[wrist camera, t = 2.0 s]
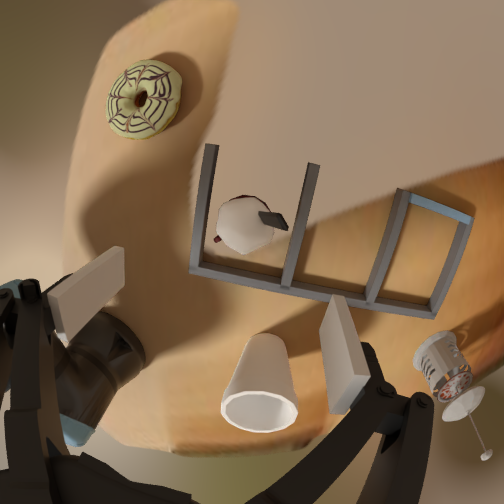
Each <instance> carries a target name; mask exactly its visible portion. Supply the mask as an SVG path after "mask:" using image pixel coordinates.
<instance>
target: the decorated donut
mask: <svg viewBox="0 0 504 504" xmlns="http://www.w3.org/2000/svg"><path fill="white" fill-rule="evenodd" d="M181 86H182V78H181V76H180V74H179V73H178V72H177V71H175V70H174V69H173V68H172V67H171V66H169V65H167V64H165V63H163V62H161V61H157V60H141V61H139V62H137V63H135V64H133V65H132V66H130V67H129V68H128V69H126V70H125V71H124V72H123V73H122V74H120V76H119V77H118V78H117V79H116V80H115V82H114V84H113V85H112V87H111V89H110V91H109V93H108V96H107V102H106V118H107V120H108V122H109V125H110V127H111V128H112V129H113V131H114V132H115V133H117V134H118V135H120V136H122V137H125V138H130V139H133V140H144V139H149V138H151V137H153V136H154V135H156V134H159V133H160V132H161V131H163V130H164V129H165V128H166V127H167V125H168V124H169V123H170V122H171V121H172V120H173V118H174V117H175V115H176V113H177V111H178V109H179V106H180V100H181ZM146 91H147V94H148V98H147V100H146V103H145V105H144V106H143V107H140V106H139V104H138V103H139V99H140V96H141V95H142V94H143V93H144V92H146Z"/></svg>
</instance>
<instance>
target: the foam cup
mask: <svg viewBox="0 0 504 504" xmlns="http://www.w3.org/2000/svg"><path fill="white" fill-rule="evenodd" d="M221 414H222V415H223V417H224V418H225V419H226V420H227V422H229V423H230V424H232V425H234V426H236V427H238V428H239V429H243V430H247V431H251V432H274V431H278V430H281V429H285V428H286V427H288V426H289V425H291V424H292V423H293V422H294V421H295V419H296V417H297V414H298V398H297V396H296V394H295V390H294V385H293V380H292V375H291V370H290V365H289V360H288V355H287V350H286V346H285V344H284V341H283V340H282V339H280V338H279V337H278V336H276V335H273V334H270V333H259V334H257V335H255V336H252V337H251V338H250V339H249V340H248V341H247V343H246V345H245V347H244V350H243V352H242V354H241V357H240V359H239V361H238V364H237V366H236V369H235V371H234V373H233V376H232V378H231V380H230V383H229V385H228V387H227V388H226V389H225V390H224V395H223V399H222V403H221Z"/></svg>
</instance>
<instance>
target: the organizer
mask: <svg viewBox="0 0 504 504" xmlns="http://www.w3.org/2000/svg"><path fill="white" fill-rule="evenodd" d="M218 150H219V145H213V144H205V150H204V156H203V162H202V168H201V175H200V181H199V188H198V195H197V203H196V210H195V218H194V226H193V235H192V244H191V253H190V263H189V273H190V274H194V275H199V276H203V277H207V278H212V279H216V280H221V281H225V282H230V283H234V284H239V285H243V286H248V287H253V288H257V289H262V290H267V291H272V292H277V293H282V294H287V295H292V296H297V297H302V298H307V299H312V300H318V301H323V302H328V303H329V302H330V300H331V297H332V294H335V295H340V296H344V297H345V300H346V302H347V305H348V306H351V307H356V308H362V309H368V310H374V311H380V312H386V313H393V314H399V315H405V316H412V317H419V318H426V319H433V320H434V319H435V317H436V315H437V313H438V311H439V309H440V307H441V305H442V302H443V300H444V298H445V296H446V294H447V292H448V289H449V287H450V285H451V283H452V280H453V278H454V275H455V273H456V271H457V268H458V265H459V263H460V260H461V258H462V255H463V252H464V249H465V247H466V244H467V241H468V238H469V235H470V232H471V228H472V225H473V222H474V218H473V217H471V216H469V215H467V214H464V213H462V212H460V211H457V210H455V209H452V208H450V207H448V206H445V205H443V204H440V203H438V202H435V201H432V200H430V199H427V198H425V197H422V196H419V195H416V194H414V193H411V192H408V191H405V190H402V189H399V188H397V190H396V194H395V198H394V201H393V205H392V209H391V212H390V216H389V219H388V223H387V226H386V229H385V232H384V236H383V239H382V242H381V245H380V248H379V251H378V254H377V257H376V260H375V263H374V265H373V268H372V271H371V274H370V277H369V279H368V282H367V284H366V287H365V290H364V292H363V294H360V293H354V292H349V291H344V290H339V289H334V288H328V287H323V286H318V285H313V284H308V283H303V282H298V281H293V280H292V277H293V274H294V270H295V266H296V263H297V259H298V255H299V251H300V247H301V244H302V240H303V236H304V232H305V228H306V224H307V220H308V216H309V211H310V207H311V203H312V199H313V195H314V190H315V186H316V182H317V177H318V173H319V168H320V165H317V164H313V163H308V165H307V170H306V174H305V179H304V183H303V188H302V192H301V197H300V201H299V205H298V210H297V214H296V218H295V223H294V227H293V231H292V235H291V239H290V243H289V248H288V252H287V256H286V260H285V264H284V268H283V272H282V275H281V278H279V277H274V276H269V275H264V274H260V273H255V272H250V271H245V270H241V269H236V268H232V267H227V266H222V265H218V264H213V263H209V262H204V261H202V258H203V250H204V242H205V235H206V227H207V219H208V213H209V206H210V199H211V193H212V186H213V180H214V174H215V167H216V161H217V156H218ZM409 202H410V203H412V204H415V205H418V206H421V207H424V208H427V209H429V210H432V211H435V212H437V213H440V214H443V215H445V216H448V217H450V218H453V219H455V220H458V221H459V224H458V227H457V231H456V234H455V237H454V240H453V243H452V246H451V248H450V251H449V254H448V257H447V259H446V262H445V265H444V267H443V270H442V272H441V275H440V277H439V279H438V282H437V284H436V286H435V289H434V291H433V293H432V295H431V298H430V300H429V302H428V304H427V306H425V305H420V304H414V303H408V302H403V301H397V300H392V299H386V298H381V297H376V296H377V294H378V291H379V289H380V286H381V284H382V281H383V279H384V276H385V274H386V271H387V268H388V266H389V263H390V260H391V257H392V254H393V252H394V249H395V246H396V243H397V240H398V237H399V233H400V230H401V227H402V224H403V221H404V217H405V214H406V210H407V207H408V203H409Z"/></svg>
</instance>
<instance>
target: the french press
mask: <svg viewBox="0 0 504 504" xmlns="http://www.w3.org/2000/svg"><path fill="white" fill-rule="evenodd" d="M458 350H459V349H458V347H457V346H456V336H455V334H454V333H453V332H450V331H442V332H438V333H436V334H434V335H432V336H430V337H429V338H428V339H427V340H426V341H424V342H423V343H422V344H421V345H420V347H419V348H418V350H417V351H416V352H415V355H414V358H413V365H414V367H415V368H416V369H417V370H419V371H422V372H423V375H425V376H424V377H425V378H426V376H427V378H426V381H427V383H428V385H430V386H429V387H430V390H431V392H432V394H433V395H434V396H435V397H437V400H438V401H439V402H447V401H450V400H452V401H451V402H450V403H449V404H448V405H447V407H446V408H445V410H444V411H443V417H442V419H443V420H444V421H455V420H459V419H462V418H463V417H465V416H467V415H468V414H469V417H470V419H471V421H472V423H473V425H474V427H475V430H476V432H477V434H478V437H479V439H480V441H481V443H482V446H483V449H484V451H485V453H484V454H482V455H481V459H482V460H487V459H489V458H490V457H491V456H492V449H490V450H488V451H486V449H485V447H484V444H483V442H482V440H481V437H480V435H479V433H478V431H477V429H476V426H475V424H474V422H473V420H472V418H471V416H470V413H471V412H472V411H473V410H474V409H475V408H476V407H477V406H478V405H479V403H480V402H481V400H482V398H483V396H484V392H485V389H484V387H480V386H475V387H472V388H469V389H467V388H468V386H469V385H470V383H471V382H472V378H473V374H472V373H471V367H470V365H469V364H468V362H467V361H466V359H464V356H463V355H462V353H461V352H460V350H459V352H458ZM457 354H459V356H457ZM461 355H462V357H461ZM456 356H457V357H456ZM463 364H465V365H464V367H463V368H462V369H461V370H460V369H459V367H461V366H462V365H463ZM467 365H468V370H467V371H464V370H465V368H466V366H467ZM463 371H464V372H463ZM446 373H448V375H449V377H450V379H449V380H448V381H447V380H446V378H445V376H444V375H445V374H446ZM429 375H431V377H430V378H429ZM428 380H430V381H428ZM435 385H436V386H435ZM436 389H438V392H433V390H436ZM466 389H467V390H466ZM465 390H466V391H465Z"/></svg>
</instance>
